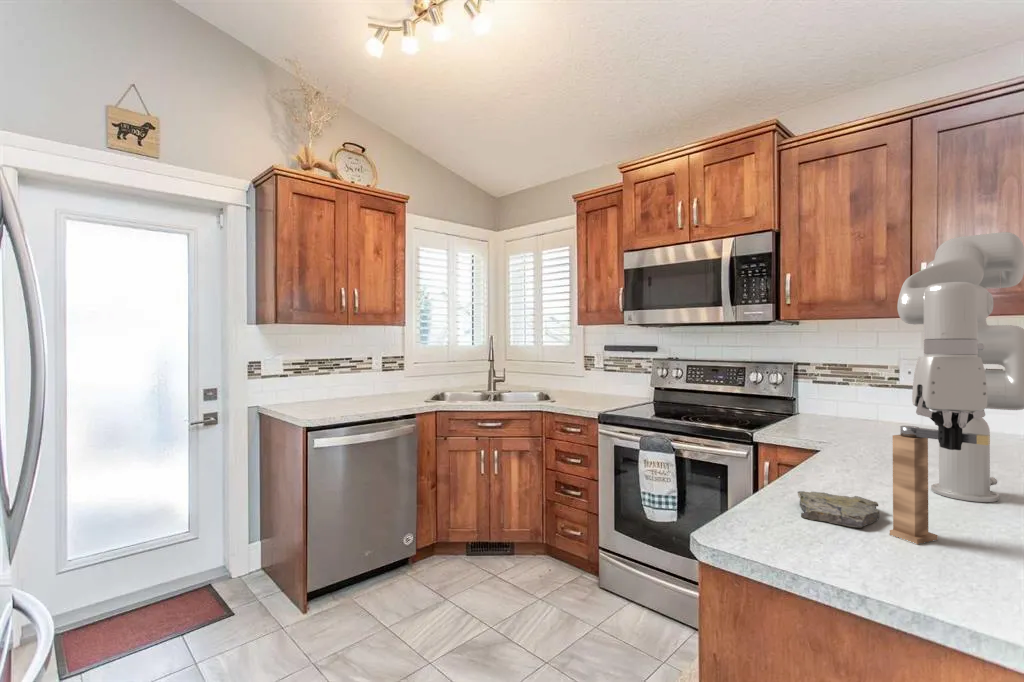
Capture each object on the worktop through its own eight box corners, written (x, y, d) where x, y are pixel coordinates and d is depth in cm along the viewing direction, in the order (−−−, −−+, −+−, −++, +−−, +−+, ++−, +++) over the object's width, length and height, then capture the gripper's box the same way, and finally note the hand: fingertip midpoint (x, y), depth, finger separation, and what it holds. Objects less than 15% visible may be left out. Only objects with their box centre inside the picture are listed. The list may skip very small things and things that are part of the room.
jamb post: (909, 531, 102) (909, 433, 102) (937, 540, 98) (937, 438, 98) (889, 535, 100) (889, 435, 100) (917, 544, 96) (916, 440, 96)
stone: (881, 536, 101) (881, 518, 101) (794, 520, 109) (794, 504, 109) (876, 511, 116) (876, 496, 116) (800, 499, 124) (800, 485, 124)
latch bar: (898, 435, 100) (898, 426, 100) (903, 433, 102) (903, 425, 102) (987, 446, 89) (987, 436, 89) (990, 444, 91) (990, 434, 91)
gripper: (979, 349, 95) (980, 446, 95) (893, 349, 97) (893, 443, 97) (1012, 349, 88) (1013, 454, 87) (918, 349, 90) (918, 451, 90)
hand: (950, 448), depth 92 cm, fingers closed
